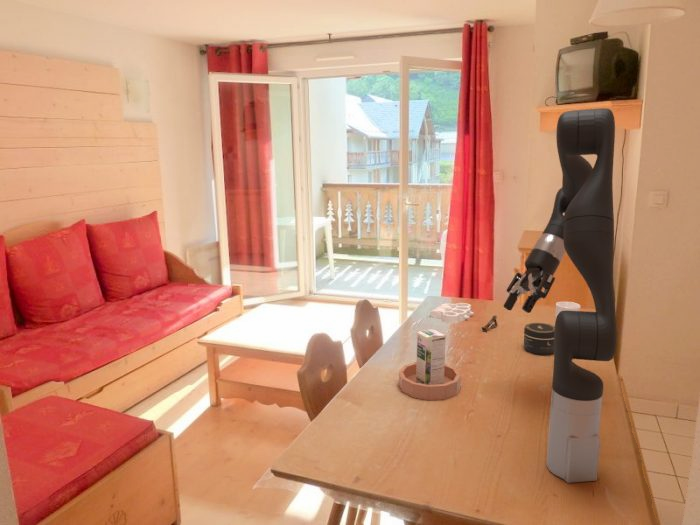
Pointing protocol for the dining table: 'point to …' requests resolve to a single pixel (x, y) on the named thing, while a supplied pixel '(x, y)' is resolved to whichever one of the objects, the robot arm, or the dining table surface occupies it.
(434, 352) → the syrup box
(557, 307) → the white cup
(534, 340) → the jar
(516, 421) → the dining table surface
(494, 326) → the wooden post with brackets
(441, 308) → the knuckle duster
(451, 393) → the bowl
